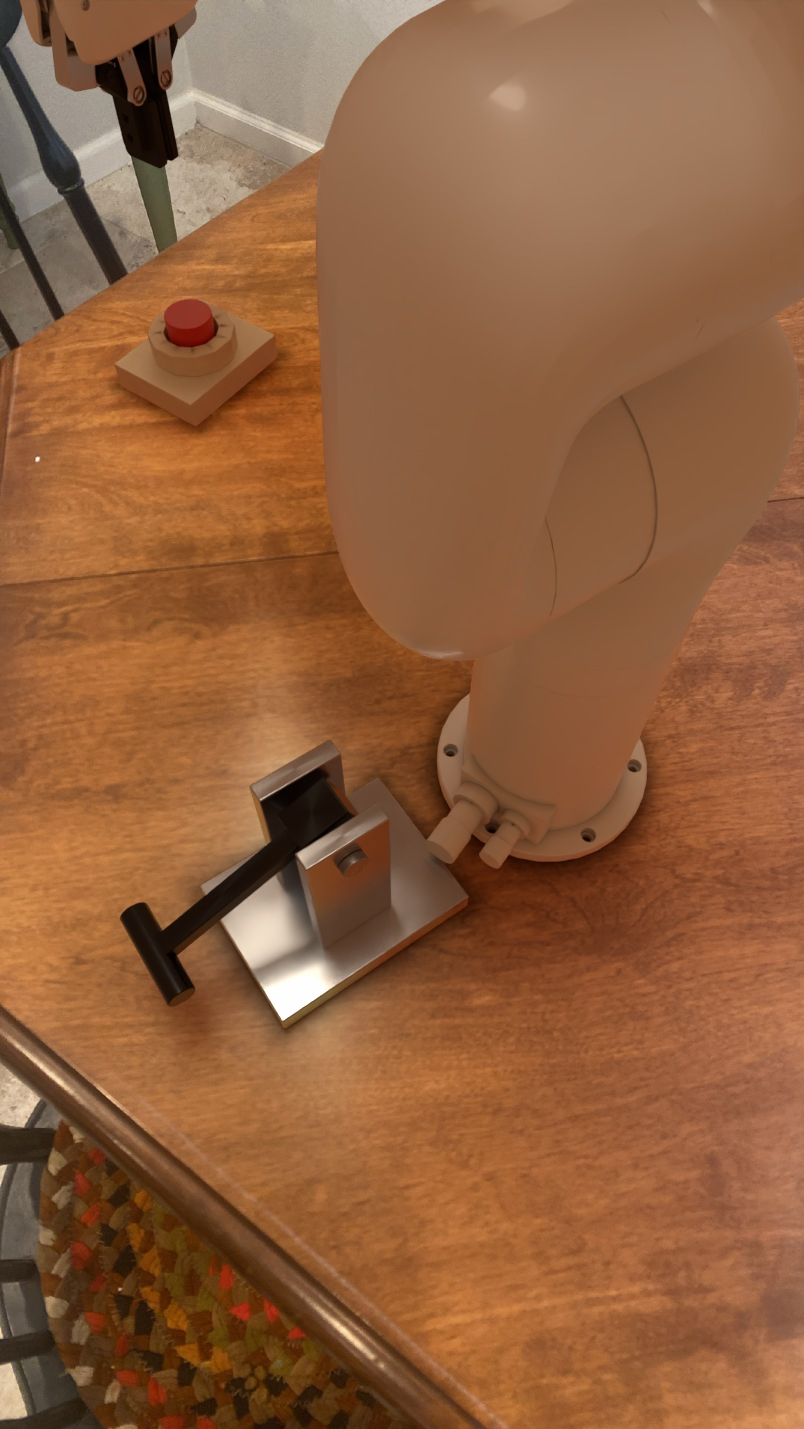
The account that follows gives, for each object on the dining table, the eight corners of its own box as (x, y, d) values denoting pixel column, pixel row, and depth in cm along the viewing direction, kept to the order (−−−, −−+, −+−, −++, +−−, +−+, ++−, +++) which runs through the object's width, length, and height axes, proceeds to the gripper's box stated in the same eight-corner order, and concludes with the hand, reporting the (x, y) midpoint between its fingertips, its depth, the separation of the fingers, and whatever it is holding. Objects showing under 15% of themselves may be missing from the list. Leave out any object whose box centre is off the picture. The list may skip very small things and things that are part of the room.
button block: (195, 427, 73) (185, 385, 70) (120, 386, 76) (107, 343, 72) (278, 357, 77) (272, 314, 74) (204, 320, 80) (195, 277, 76)
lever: (183, 1008, 44) (156, 1007, 42) (135, 923, 47) (107, 917, 44) (382, 845, 44) (365, 835, 42) (325, 767, 46) (306, 753, 44)
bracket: (284, 1029, 50) (252, 958, 39) (203, 895, 54) (152, 795, 43) (467, 905, 53) (485, 808, 42) (379, 787, 57) (374, 670, 46)
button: (193, 354, 72) (189, 335, 71) (158, 337, 73) (153, 317, 72) (224, 329, 74) (221, 310, 72) (190, 312, 75) (185, 292, 73)
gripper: (121, -282, 50) (187, 90, 66) (-106, -200, 44) (27, 190, 60) (228, -255, 48) (270, 124, 64) (6, -164, 42) (113, 231, 58)
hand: (153, 155), depth 62 cm, fingers closed
